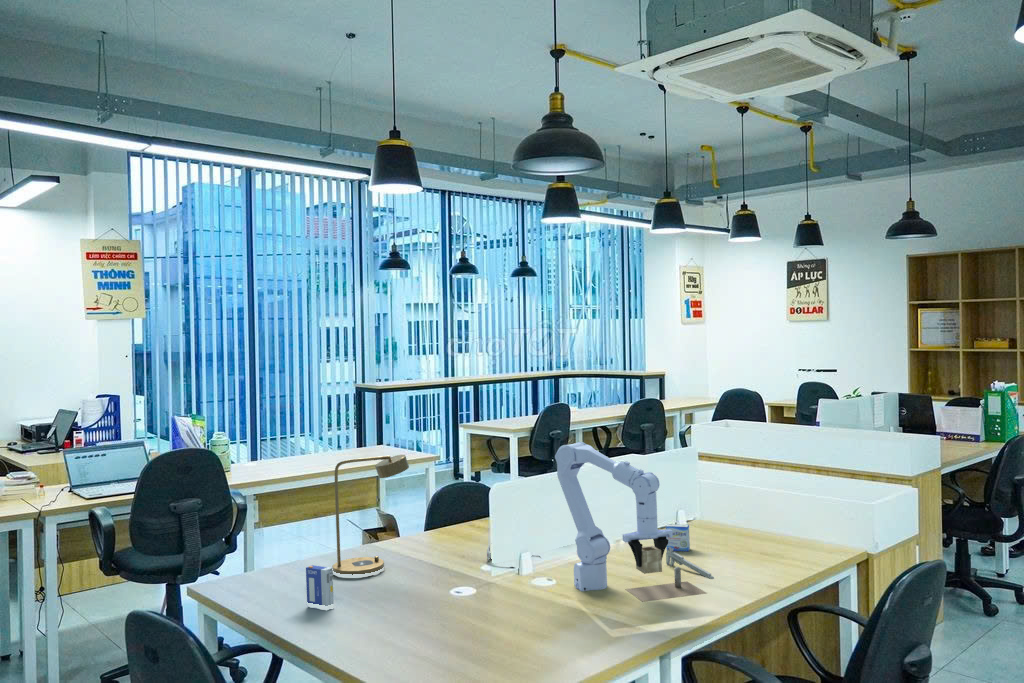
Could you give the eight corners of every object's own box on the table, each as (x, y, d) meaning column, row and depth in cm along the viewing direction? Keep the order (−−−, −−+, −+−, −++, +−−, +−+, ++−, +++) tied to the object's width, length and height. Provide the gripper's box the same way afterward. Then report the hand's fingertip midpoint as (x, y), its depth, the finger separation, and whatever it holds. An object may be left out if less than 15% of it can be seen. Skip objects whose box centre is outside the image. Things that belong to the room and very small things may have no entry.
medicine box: (666, 550, 271) (665, 526, 271) (667, 547, 275) (666, 523, 276) (689, 551, 269) (688, 526, 269) (690, 548, 273) (689, 524, 273)
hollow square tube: (644, 573, 215) (643, 552, 215) (636, 568, 220) (635, 547, 220) (662, 571, 216) (661, 550, 216) (653, 566, 221) (652, 545, 221)
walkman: (307, 607, 224) (305, 566, 224) (313, 605, 226) (312, 563, 226) (327, 611, 220) (325, 569, 220) (334, 608, 222) (332, 566, 222)
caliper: (666, 565, 254) (665, 546, 254) (668, 564, 255) (667, 545, 255) (711, 579, 237) (711, 559, 237) (714, 579, 237) (713, 558, 237)
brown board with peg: (642, 607, 213) (641, 580, 213) (625, 594, 225) (624, 568, 225) (707, 598, 219) (706, 572, 219) (687, 586, 230) (686, 561, 230)
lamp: (418, 570, 259) (414, 456, 259) (337, 582, 248) (333, 463, 249) (405, 558, 275) (401, 451, 275) (328, 569, 264) (324, 458, 265)
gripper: (628, 522, 212) (630, 571, 212) (676, 517, 216) (678, 565, 216) (618, 517, 219) (620, 564, 219) (665, 512, 223) (667, 559, 223)
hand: (648, 565), depth 218 cm, fingers closed on hollow square tube, 5 cm apart
